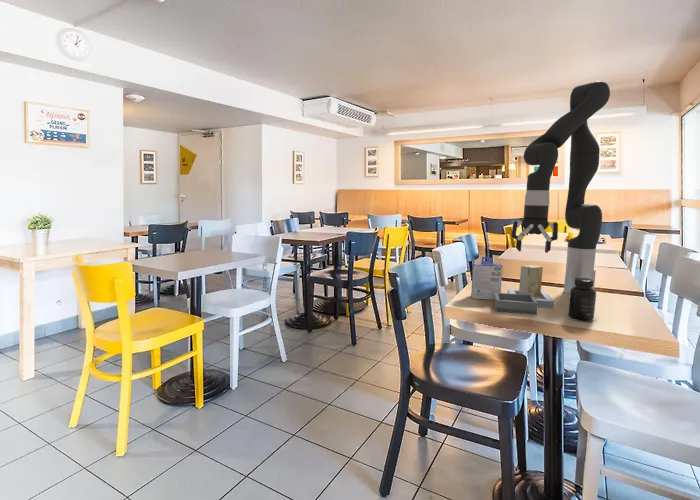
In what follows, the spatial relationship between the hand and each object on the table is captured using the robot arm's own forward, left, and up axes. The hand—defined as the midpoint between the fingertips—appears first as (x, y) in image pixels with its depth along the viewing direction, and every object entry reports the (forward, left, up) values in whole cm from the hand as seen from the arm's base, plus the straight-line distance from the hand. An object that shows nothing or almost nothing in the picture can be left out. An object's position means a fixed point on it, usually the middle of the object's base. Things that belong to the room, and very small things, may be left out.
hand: (532, 251), depth 141 cm
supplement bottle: (-12, +17, -17) cm, 27 cm away
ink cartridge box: (+14, +1, -17) cm, 23 cm away
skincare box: (0, 0, -17) cm, 17 cm away
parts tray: (+6, +12, -17) cm, 22 cm away
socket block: (0, 0, -17) cm, 17 cm away
